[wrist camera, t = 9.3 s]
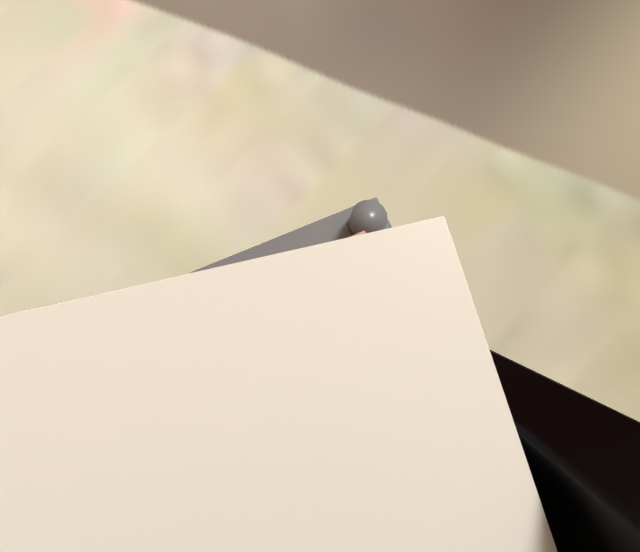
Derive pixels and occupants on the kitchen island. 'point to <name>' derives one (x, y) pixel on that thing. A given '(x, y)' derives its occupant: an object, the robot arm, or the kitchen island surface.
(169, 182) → the kitchen island surface
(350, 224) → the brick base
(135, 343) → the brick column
